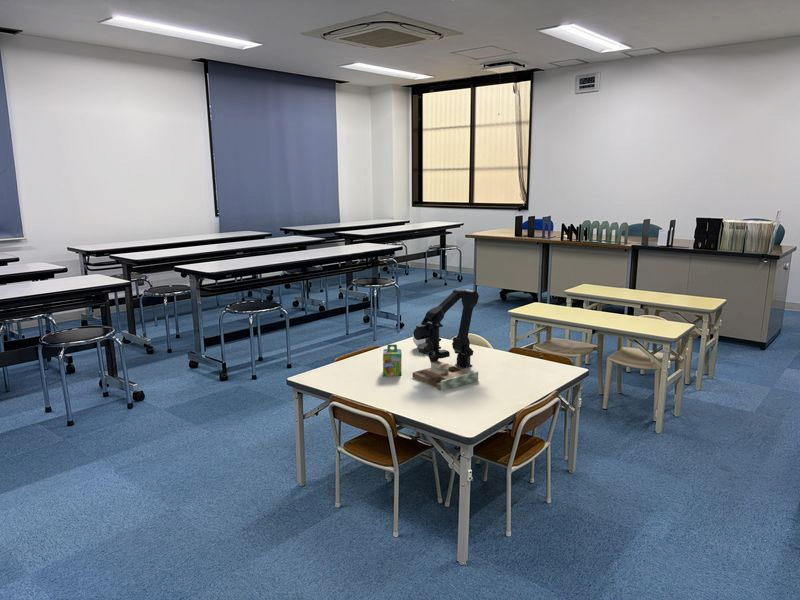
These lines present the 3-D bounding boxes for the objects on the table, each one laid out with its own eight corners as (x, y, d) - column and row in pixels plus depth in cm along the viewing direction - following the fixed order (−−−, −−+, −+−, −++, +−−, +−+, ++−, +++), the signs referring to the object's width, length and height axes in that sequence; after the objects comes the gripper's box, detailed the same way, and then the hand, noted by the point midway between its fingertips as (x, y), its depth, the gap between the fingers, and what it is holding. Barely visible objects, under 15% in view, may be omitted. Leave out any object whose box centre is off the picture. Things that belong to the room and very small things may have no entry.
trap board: (447, 368, 291) (447, 359, 290) (478, 380, 273) (478, 371, 272) (412, 377, 279) (412, 368, 278) (442, 390, 261) (442, 381, 260)
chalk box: (383, 377, 280) (382, 348, 277) (383, 371, 289) (382, 342, 286) (401, 376, 280) (401, 347, 277) (401, 370, 289) (401, 342, 286)
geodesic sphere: (424, 332, 338) (416, 316, 328) (445, 335, 330) (437, 319, 320) (413, 352, 330) (404, 336, 321) (434, 356, 322) (426, 340, 313)
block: (440, 369, 283) (440, 360, 282) (448, 372, 278) (448, 363, 277) (431, 371, 279) (431, 362, 278) (438, 374, 274) (438, 365, 274)
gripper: (408, 335, 282) (409, 365, 286) (431, 343, 267) (431, 375, 270) (427, 331, 288) (427, 361, 292) (450, 339, 273) (450, 371, 276)
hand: (433, 367), depth 282 cm, fingers closed
